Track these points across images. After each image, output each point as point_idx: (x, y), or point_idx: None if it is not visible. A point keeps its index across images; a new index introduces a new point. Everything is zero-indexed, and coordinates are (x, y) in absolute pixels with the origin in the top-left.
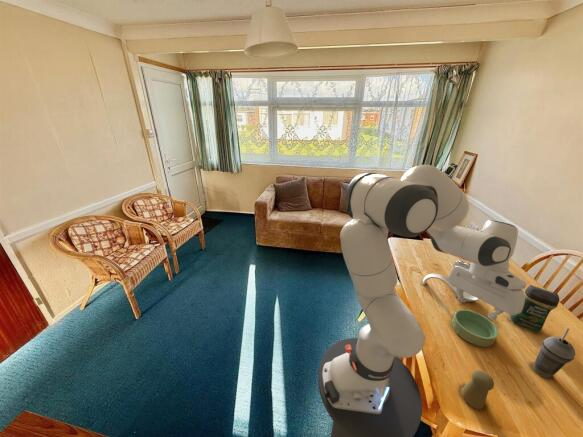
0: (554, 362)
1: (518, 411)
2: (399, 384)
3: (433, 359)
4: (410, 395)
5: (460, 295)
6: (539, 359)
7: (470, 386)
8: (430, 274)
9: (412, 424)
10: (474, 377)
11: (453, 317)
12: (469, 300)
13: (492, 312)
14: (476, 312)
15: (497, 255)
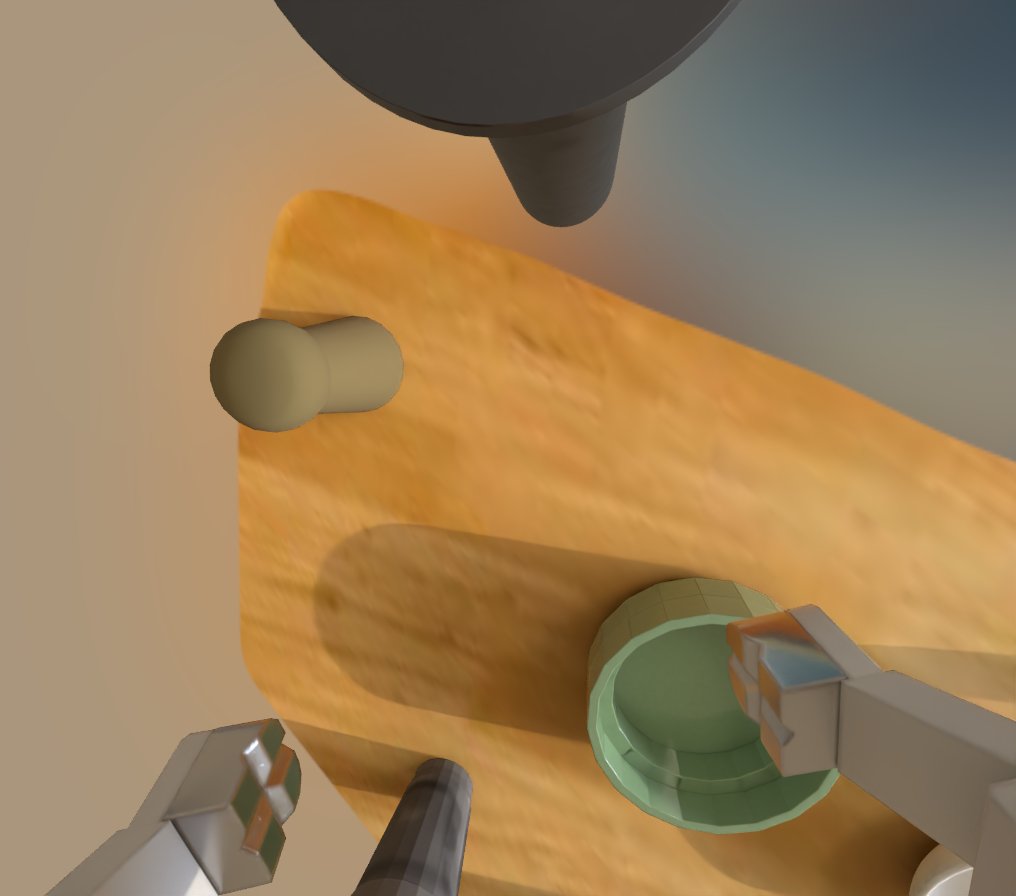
0: (371, 867)
1: (301, 523)
2: (467, 3)
3: (563, 300)
4: (408, 45)
5: (884, 722)
6: (434, 824)
7: (318, 327)
8: None
9: None
10: (268, 320)
11: None
12: (924, 873)
13: (265, 881)
14: (797, 815)
15: None
